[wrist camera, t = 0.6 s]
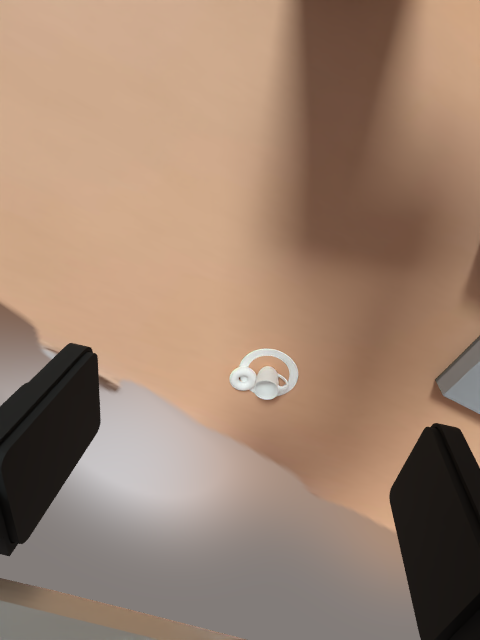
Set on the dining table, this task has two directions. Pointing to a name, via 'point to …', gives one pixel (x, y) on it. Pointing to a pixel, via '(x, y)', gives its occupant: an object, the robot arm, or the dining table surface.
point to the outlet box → (463, 378)
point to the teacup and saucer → (264, 375)
